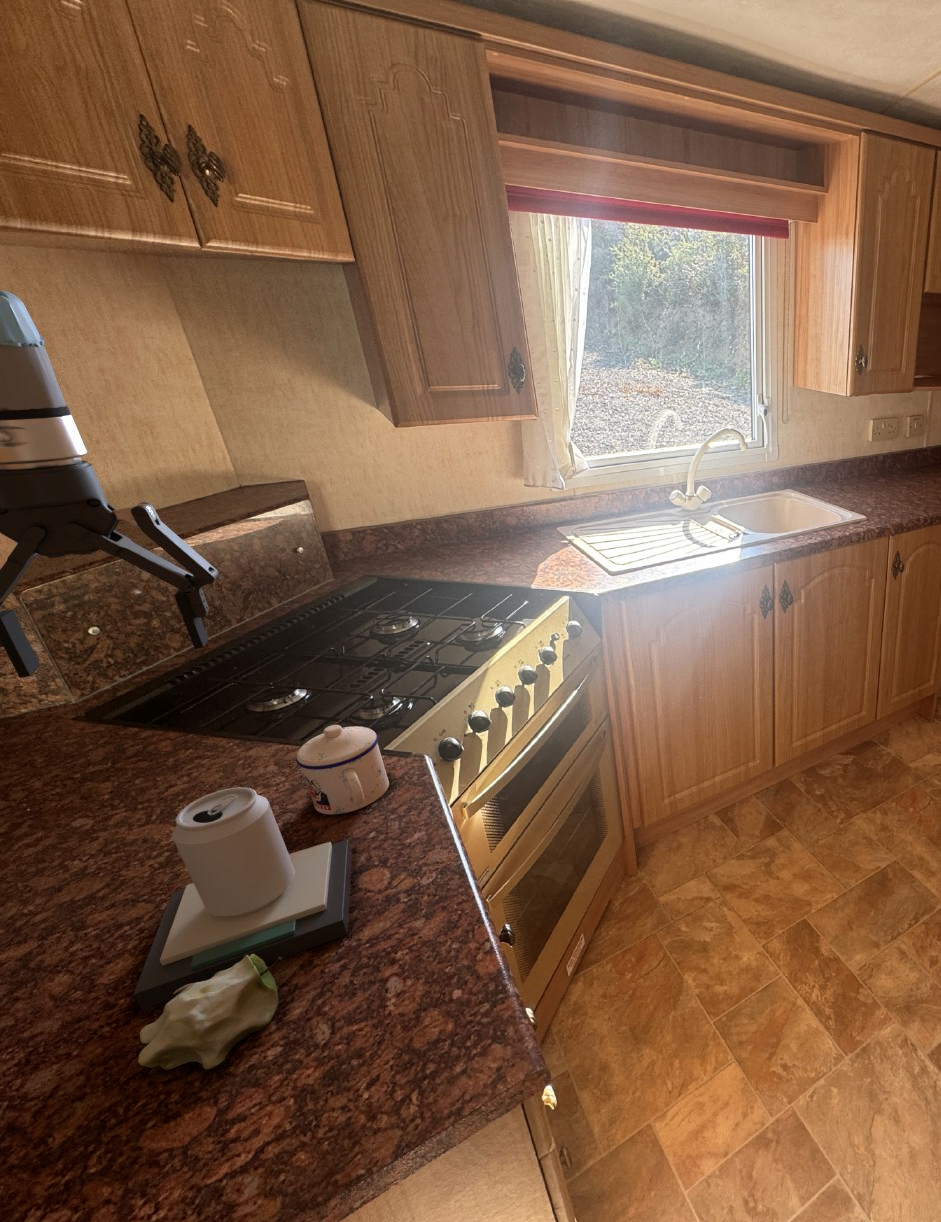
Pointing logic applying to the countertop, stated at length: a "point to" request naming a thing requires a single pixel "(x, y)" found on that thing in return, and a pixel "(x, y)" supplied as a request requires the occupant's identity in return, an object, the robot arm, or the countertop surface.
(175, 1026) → the fruit
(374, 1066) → the countertop surface
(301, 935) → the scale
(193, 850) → the can
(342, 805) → the teacup with lid
